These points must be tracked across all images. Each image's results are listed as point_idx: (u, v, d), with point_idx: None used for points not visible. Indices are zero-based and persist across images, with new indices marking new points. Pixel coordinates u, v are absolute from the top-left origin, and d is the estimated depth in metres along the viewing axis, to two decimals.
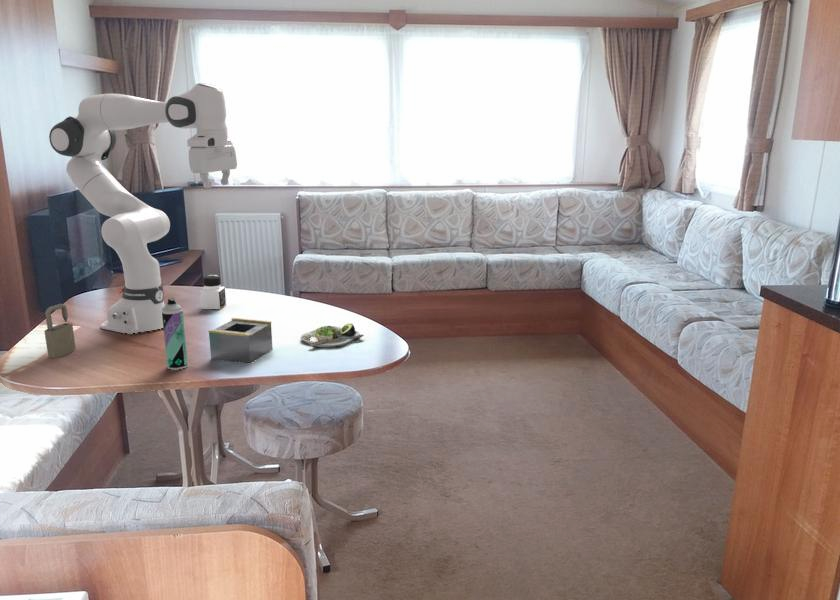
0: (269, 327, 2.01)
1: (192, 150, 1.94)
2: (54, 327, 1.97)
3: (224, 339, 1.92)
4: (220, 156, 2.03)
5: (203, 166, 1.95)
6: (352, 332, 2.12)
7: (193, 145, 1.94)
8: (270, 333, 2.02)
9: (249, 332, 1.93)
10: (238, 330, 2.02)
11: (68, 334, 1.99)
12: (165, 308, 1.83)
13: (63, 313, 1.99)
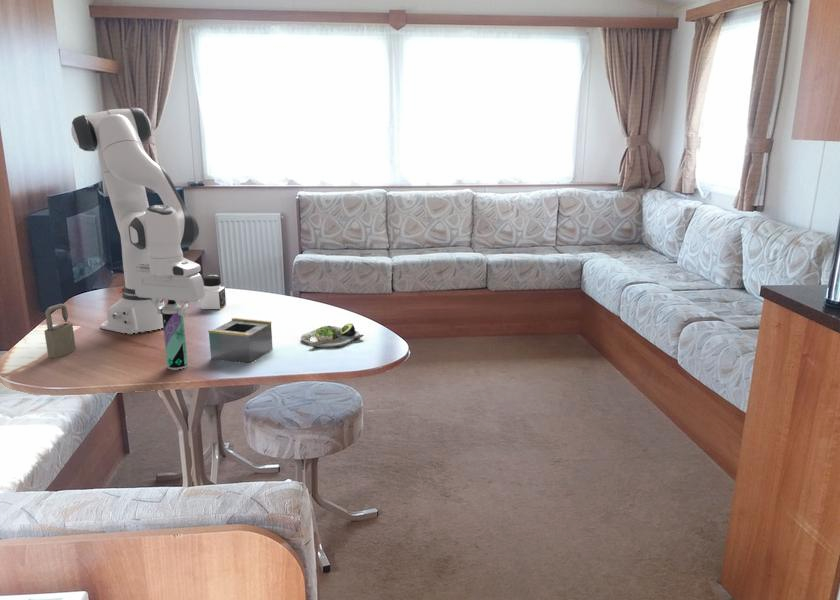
0: (269, 327, 2.01)
1: (194, 278, 1.78)
2: (54, 327, 1.97)
3: (224, 339, 1.92)
4: None
5: None
6: (352, 332, 2.12)
7: (192, 273, 1.78)
8: (270, 334, 2.02)
9: (249, 332, 1.93)
10: (238, 330, 2.02)
11: (68, 334, 1.99)
12: (165, 308, 1.83)
13: (63, 313, 1.99)
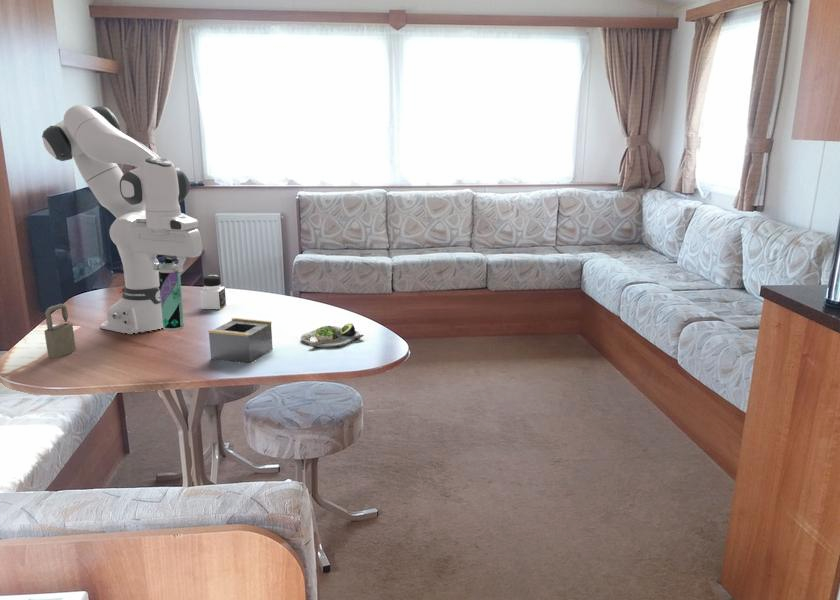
0: (269, 327, 2.01)
1: (191, 233, 1.75)
2: (54, 327, 1.97)
3: (224, 339, 1.92)
4: None
5: None
6: (352, 332, 2.12)
7: (190, 227, 1.75)
8: (270, 334, 2.02)
9: (249, 332, 1.93)
10: (238, 330, 2.02)
11: (68, 334, 1.99)
12: (162, 267, 1.80)
13: (63, 313, 1.99)
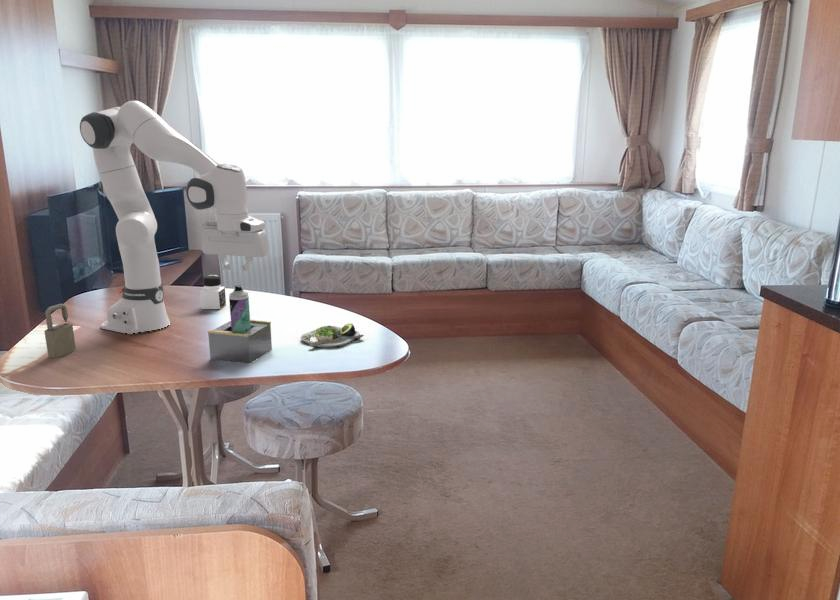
0: (268, 327, 2.01)
1: (260, 234, 1.86)
2: (54, 327, 1.97)
3: (223, 340, 1.92)
4: None
5: None
6: (352, 332, 2.12)
7: (258, 229, 1.86)
8: (270, 334, 2.02)
9: (248, 332, 1.93)
10: None
11: (68, 334, 1.99)
12: (232, 294, 1.93)
13: (63, 313, 1.99)
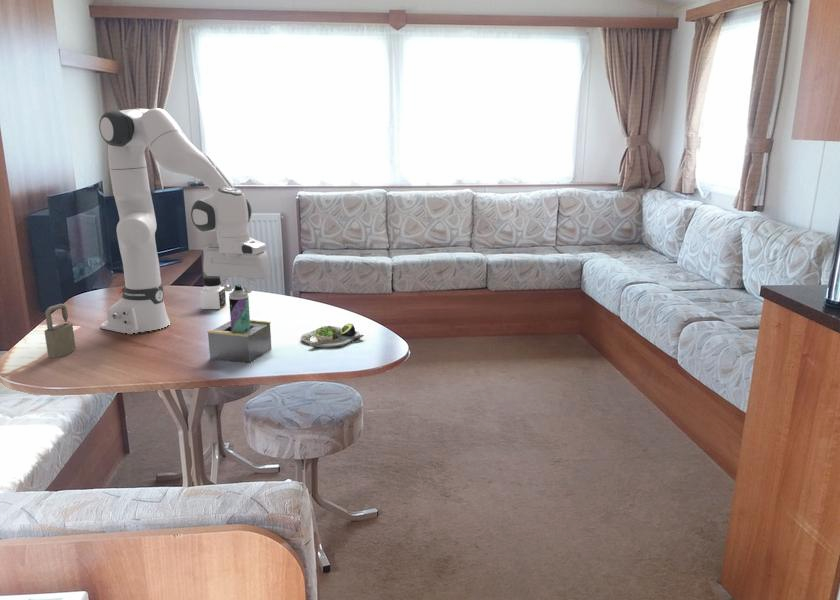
0: (268, 327, 2.01)
1: (261, 256, 1.88)
2: (54, 327, 1.97)
3: (223, 340, 1.92)
4: None
5: None
6: (352, 332, 2.12)
7: (260, 251, 1.88)
8: (269, 334, 2.02)
9: (248, 332, 1.93)
10: None
11: (68, 334, 1.99)
12: (232, 294, 1.93)
13: (63, 313, 1.99)
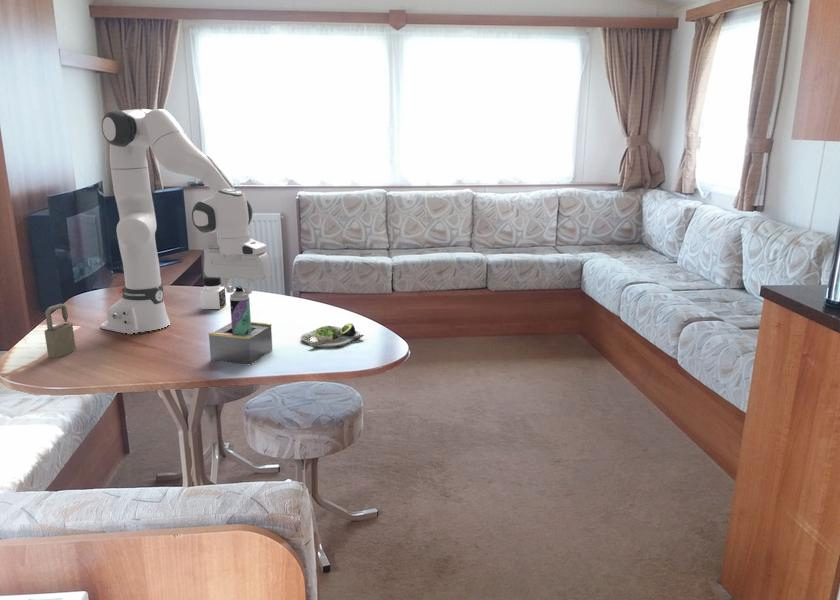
0: (269, 329, 2.00)
1: (262, 257, 1.88)
2: (54, 327, 1.97)
3: (224, 342, 1.92)
4: None
5: None
6: (352, 332, 2.12)
7: (260, 252, 1.88)
8: (270, 336, 2.01)
9: (249, 335, 1.92)
10: None
11: (68, 334, 1.99)
12: (233, 295, 1.93)
13: (63, 313, 1.99)
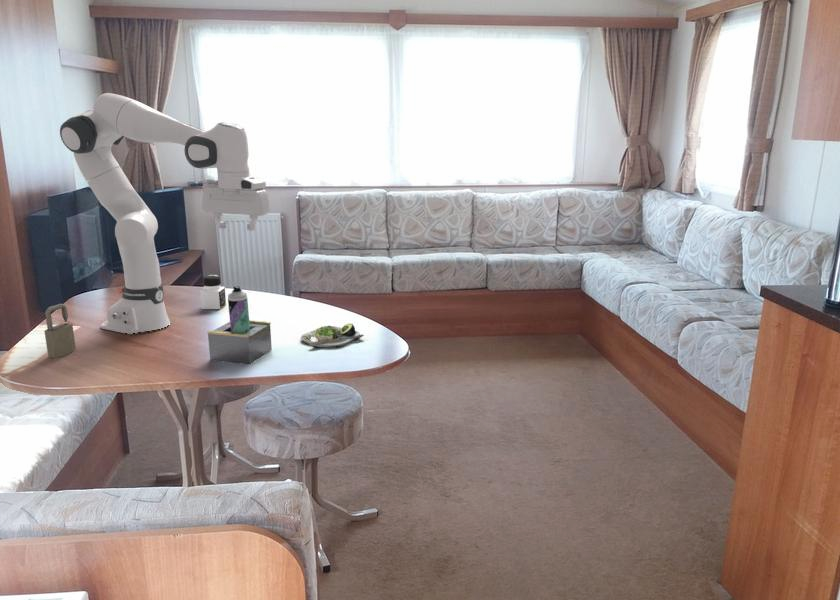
0: (268, 328, 2.00)
1: (260, 192, 1.88)
2: (54, 327, 1.97)
3: (223, 340, 1.92)
4: None
5: None
6: (352, 332, 2.12)
7: (259, 187, 1.88)
8: (269, 334, 2.02)
9: (248, 333, 1.93)
10: None
11: (68, 334, 1.99)
12: (231, 295, 1.92)
13: (63, 313, 1.99)
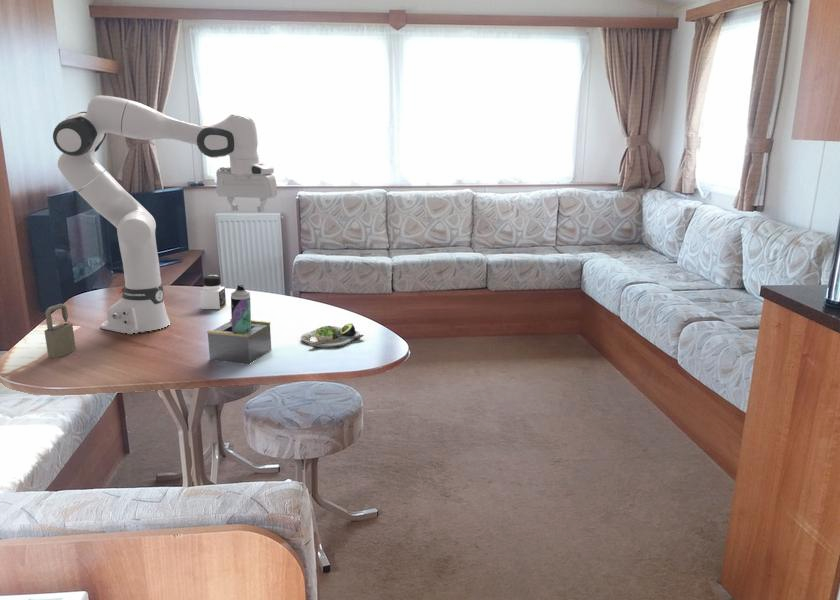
0: (268, 328, 2.01)
1: (269, 177, 2.09)
2: (54, 327, 1.97)
3: (223, 340, 1.92)
4: None
5: None
6: (352, 332, 2.12)
7: (268, 172, 2.09)
8: (269, 334, 2.02)
9: (248, 333, 1.93)
10: None
11: (68, 334, 1.99)
12: (234, 293, 1.93)
13: (63, 313, 1.99)
